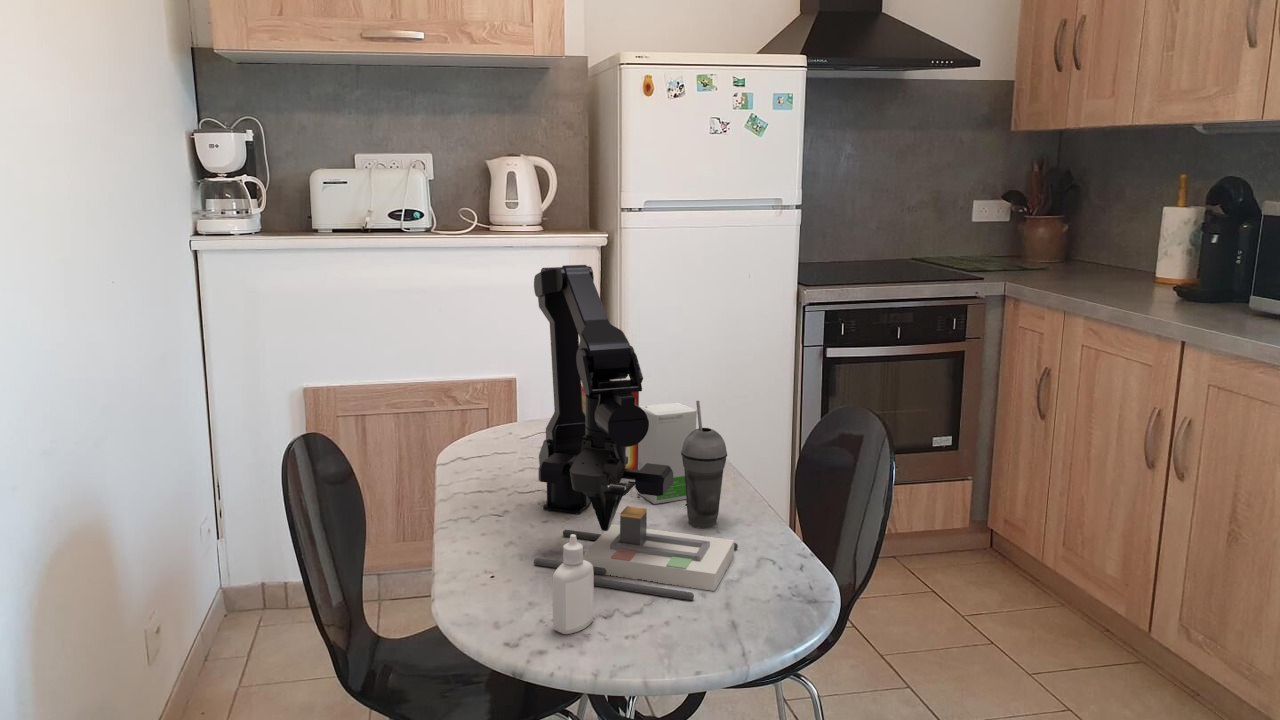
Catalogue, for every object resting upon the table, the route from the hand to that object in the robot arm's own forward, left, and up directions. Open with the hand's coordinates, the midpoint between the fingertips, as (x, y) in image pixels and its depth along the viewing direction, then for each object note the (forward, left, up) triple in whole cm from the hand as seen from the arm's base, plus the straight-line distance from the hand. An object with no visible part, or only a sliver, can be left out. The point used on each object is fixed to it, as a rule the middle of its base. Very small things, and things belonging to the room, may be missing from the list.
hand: (605, 530), depth 141 cm
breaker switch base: (+8, 0, -4) cm, 9 cm away
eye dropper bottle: (+3, -21, -4) cm, 22 cm away
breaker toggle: (+4, 0, -1) cm, 4 cm away
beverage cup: (+10, +17, -4) cm, 20 cm away
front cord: (+3, -8, -4) cm, 9 cm away
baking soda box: (-13, +37, -4) cm, 39 cm away
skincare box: (+1, +27, -4) cm, 27 cm away
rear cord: (+4, +7, -4) cm, 9 cm away
